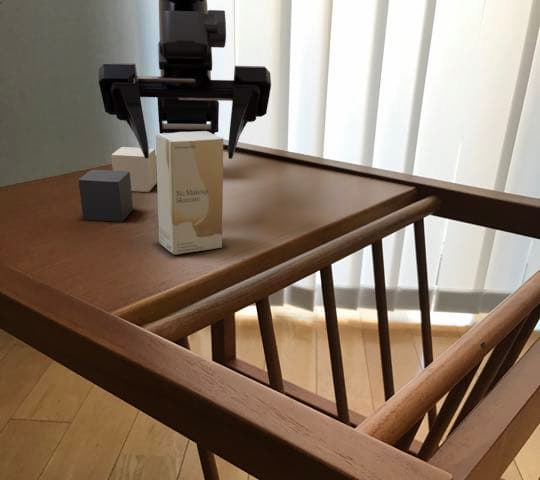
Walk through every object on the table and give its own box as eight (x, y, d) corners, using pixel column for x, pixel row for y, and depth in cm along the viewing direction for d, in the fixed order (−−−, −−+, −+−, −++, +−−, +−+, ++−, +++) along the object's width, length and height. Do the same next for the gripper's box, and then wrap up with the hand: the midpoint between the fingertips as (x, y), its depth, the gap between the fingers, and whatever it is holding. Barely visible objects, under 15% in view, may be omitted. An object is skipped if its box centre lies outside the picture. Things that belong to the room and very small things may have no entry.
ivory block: (124, 181, 94) (121, 146, 92) (157, 182, 94) (155, 148, 91) (114, 190, 90) (111, 154, 87) (148, 192, 90) (146, 156, 87)
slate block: (95, 207, 83) (91, 169, 80) (133, 209, 82) (129, 171, 80) (82, 219, 78) (78, 179, 76) (122, 222, 78) (118, 181, 76)
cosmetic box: (173, 256, 69) (168, 141, 62) (158, 244, 72) (151, 133, 66) (225, 247, 72) (225, 136, 65) (208, 236, 75) (207, 128, 69)
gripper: (90, -25, 64) (89, 108, 60) (272, -18, 66) (282, 111, 62) (105, 54, 74) (106, 171, 71) (261, 58, 77) (269, 171, 73)
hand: (188, 156), depth 69 cm, fingers open, 9 cm apart
